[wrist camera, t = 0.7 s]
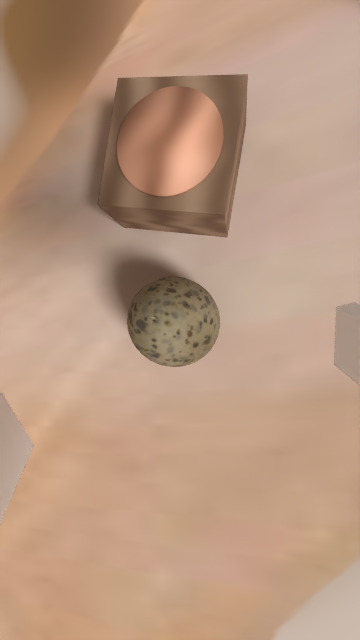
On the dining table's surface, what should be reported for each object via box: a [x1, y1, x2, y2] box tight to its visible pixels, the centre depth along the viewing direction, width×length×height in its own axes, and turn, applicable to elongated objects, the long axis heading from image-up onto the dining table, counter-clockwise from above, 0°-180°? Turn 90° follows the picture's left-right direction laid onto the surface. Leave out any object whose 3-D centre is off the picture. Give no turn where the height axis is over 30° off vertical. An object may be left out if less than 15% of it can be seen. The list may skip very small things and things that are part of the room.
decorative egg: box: [127, 277, 220, 367], centre depth 32 cm, size 11×11×15 cm
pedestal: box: [98, 74, 248, 237], centre depth 36 cm, size 16×16×8 cm
